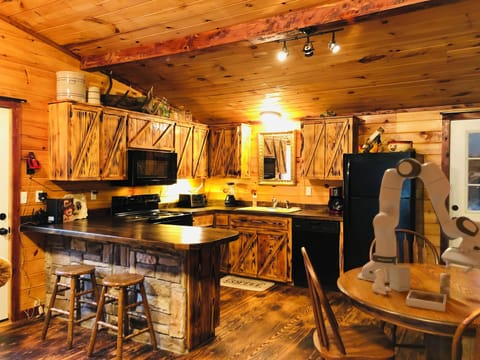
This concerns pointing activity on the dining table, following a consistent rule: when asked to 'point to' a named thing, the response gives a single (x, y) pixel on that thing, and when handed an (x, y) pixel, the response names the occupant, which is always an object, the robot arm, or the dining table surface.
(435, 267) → the dining table surface
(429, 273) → the dining table surface
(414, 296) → the bore plate
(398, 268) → the supplement box
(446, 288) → the birch peg
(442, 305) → the open box
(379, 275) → the seated beast figurine
